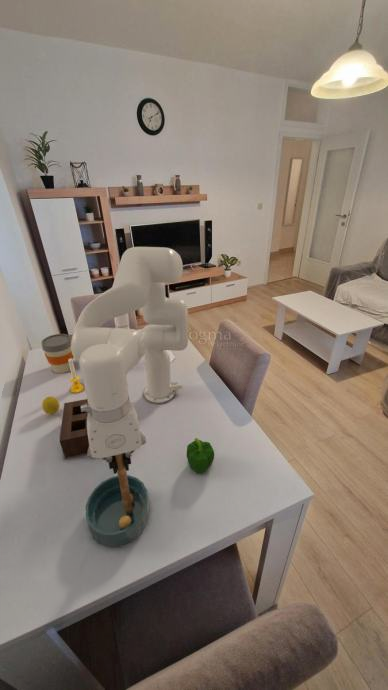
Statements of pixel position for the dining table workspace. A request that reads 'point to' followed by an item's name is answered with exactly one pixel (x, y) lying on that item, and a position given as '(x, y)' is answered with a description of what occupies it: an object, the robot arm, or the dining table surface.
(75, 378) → the candle
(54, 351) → the reusable coffee cup
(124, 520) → the dough ball
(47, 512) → the dining table surface
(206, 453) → the bell pepper
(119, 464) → the stirring stick
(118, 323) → the cylindrical container
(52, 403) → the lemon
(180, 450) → the dining table surface
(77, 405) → the stand
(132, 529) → the bowl
